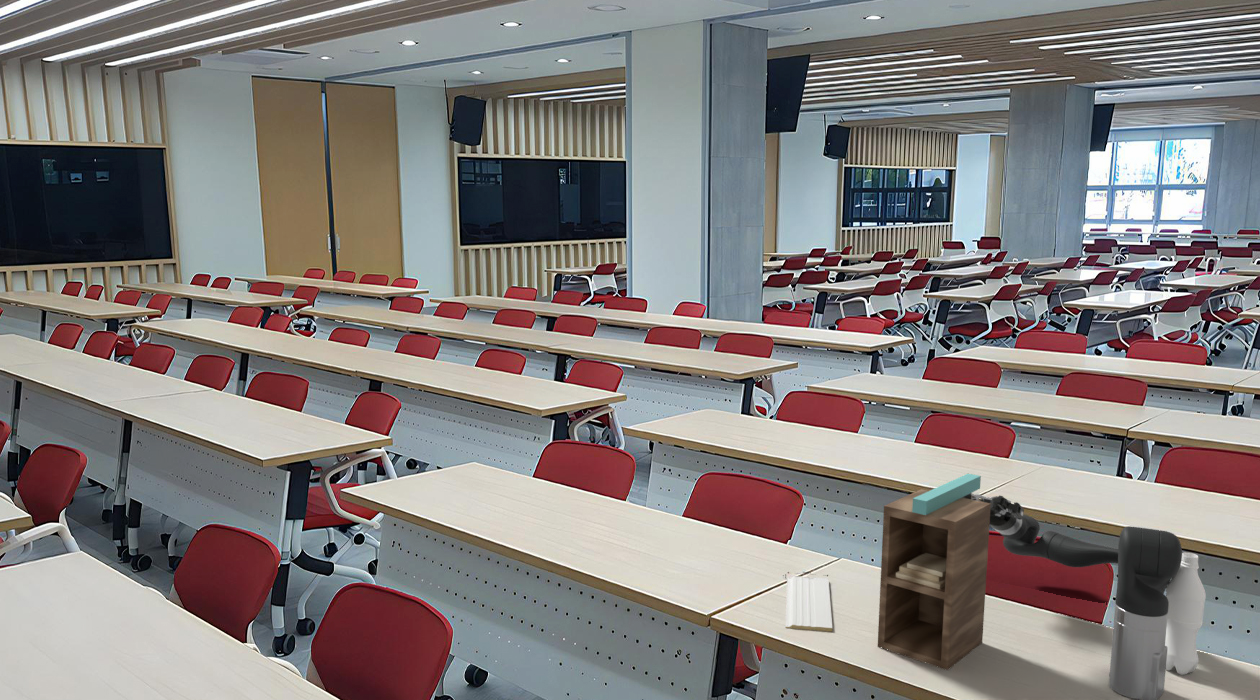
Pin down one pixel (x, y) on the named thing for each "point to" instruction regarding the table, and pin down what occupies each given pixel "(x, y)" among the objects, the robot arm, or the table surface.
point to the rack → (933, 580)
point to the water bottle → (1184, 615)
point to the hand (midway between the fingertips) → (981, 496)
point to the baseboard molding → (808, 603)
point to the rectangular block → (945, 494)
